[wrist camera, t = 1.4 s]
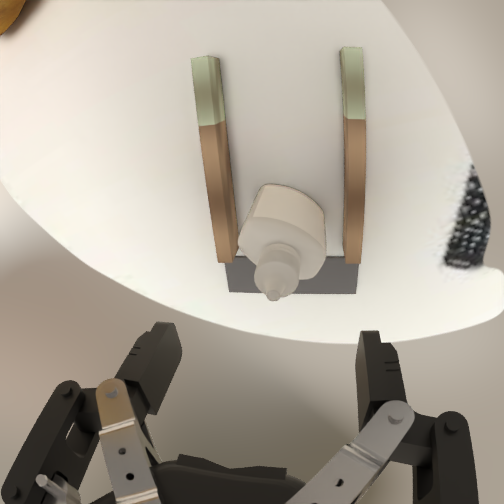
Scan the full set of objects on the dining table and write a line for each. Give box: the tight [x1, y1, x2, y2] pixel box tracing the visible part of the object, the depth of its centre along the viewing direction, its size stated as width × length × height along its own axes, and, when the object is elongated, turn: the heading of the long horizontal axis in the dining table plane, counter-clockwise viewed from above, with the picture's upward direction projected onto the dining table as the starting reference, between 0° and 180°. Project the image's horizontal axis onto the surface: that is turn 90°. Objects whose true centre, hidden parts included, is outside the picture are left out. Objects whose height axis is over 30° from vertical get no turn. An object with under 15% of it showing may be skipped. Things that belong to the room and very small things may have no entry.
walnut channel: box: [191, 47, 366, 264], centre depth 23 cm, size 16×11×3 cm
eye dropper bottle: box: [238, 184, 326, 301], centre depth 21 cm, size 4×6×12 cm
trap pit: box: [225, 256, 359, 294], centre depth 29 cm, size 4×12×1 cm, turn 95°
